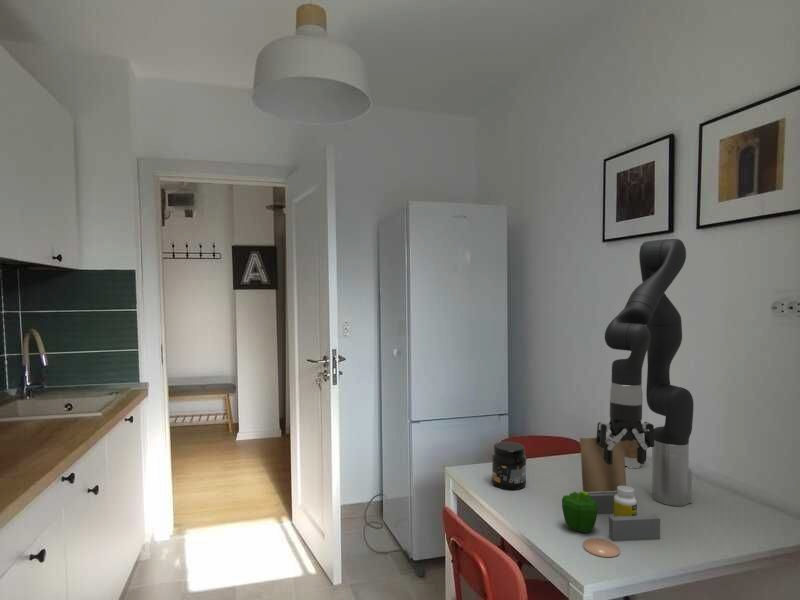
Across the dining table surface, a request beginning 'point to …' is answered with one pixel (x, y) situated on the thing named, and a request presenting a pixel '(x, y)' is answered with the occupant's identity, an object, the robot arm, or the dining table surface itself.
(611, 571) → the dining table surface
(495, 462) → the supplement container
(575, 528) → the bell pepper
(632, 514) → the supplement bottle
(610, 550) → the coaster
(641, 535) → the rails
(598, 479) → the tan flat square panel
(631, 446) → the coffee cup
